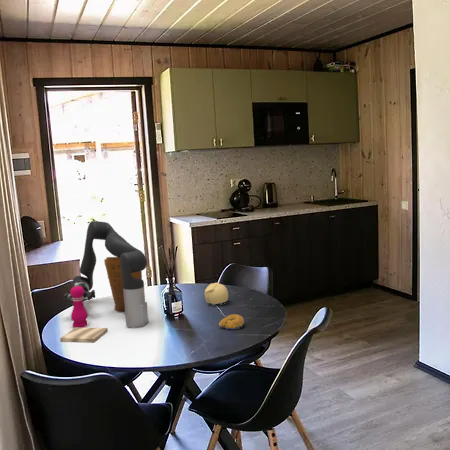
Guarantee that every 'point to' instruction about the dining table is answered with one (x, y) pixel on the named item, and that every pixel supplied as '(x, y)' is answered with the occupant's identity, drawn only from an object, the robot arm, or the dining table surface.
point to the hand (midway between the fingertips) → (78, 299)
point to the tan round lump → (216, 293)
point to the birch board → (84, 334)
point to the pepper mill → (78, 307)
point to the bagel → (232, 321)
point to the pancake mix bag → (117, 281)
